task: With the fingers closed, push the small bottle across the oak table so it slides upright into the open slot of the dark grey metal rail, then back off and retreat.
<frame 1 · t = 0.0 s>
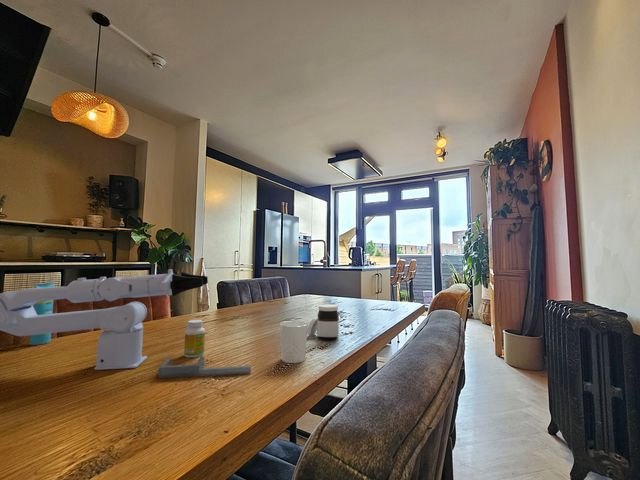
hand: (205, 281, 83), 22 cm above the table, tool horizontal, fingers open, 7 cm apart
supplement bottle: (194, 355, 86), on the table
tube: (40, 343, 95), on the table
white cup: (293, 360, 84), on the table
rail: (183, 370, 74), on the table
spread jar: (322, 338, 107), on the table
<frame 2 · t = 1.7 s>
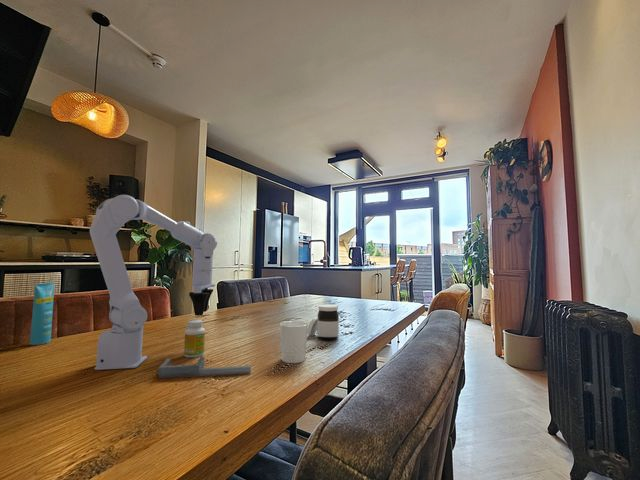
hand: (200, 313, 95), 10 cm above the table, tool pointing down, fingers open, 6 cm apart
nothing on the table moved.
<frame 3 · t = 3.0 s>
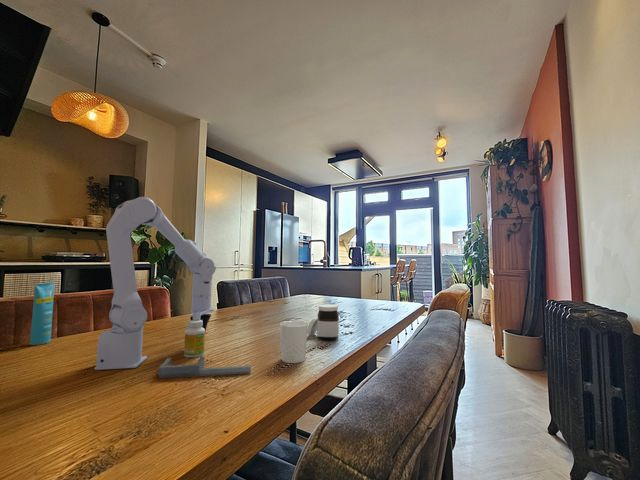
hand: (200, 338, 94), 3 cm above the table, tool pointing down, fingers closed
nothing on the table moved.
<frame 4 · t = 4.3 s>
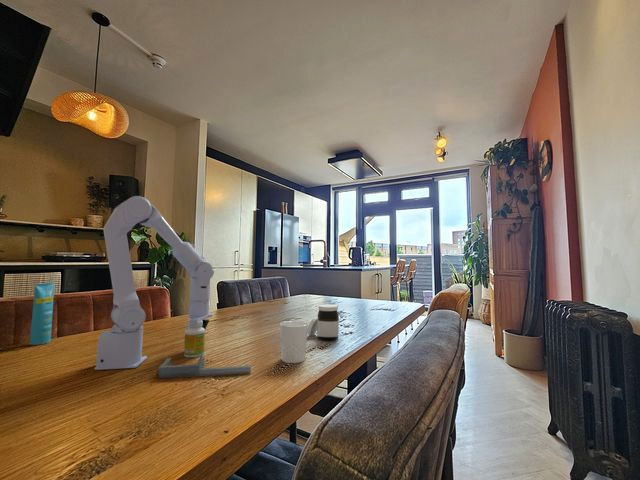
hand: (197, 344, 91), 1 cm above the table, tool pointing down, fingers closed
supplement bottle: (194, 355, 86), on the table, touching gripper
everything else where it was.
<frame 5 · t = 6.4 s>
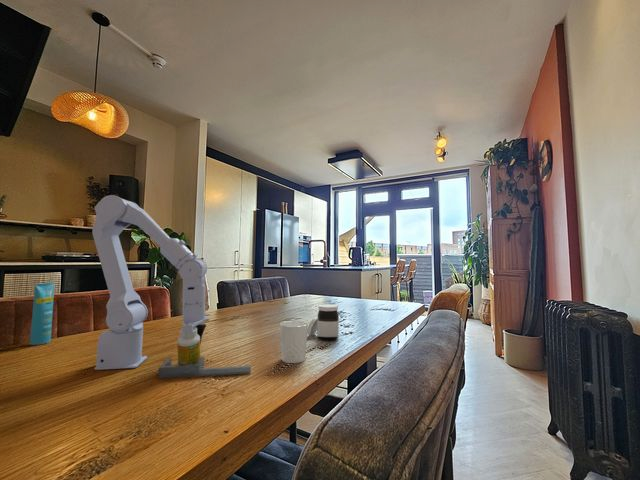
hand: (194, 352, 81), 2 cm above the table, tool pointing down, fingers closed, pressing on supplement bottle
supplement bottle: (189, 363, 78), on the table, touching gripper
everything else where it was.
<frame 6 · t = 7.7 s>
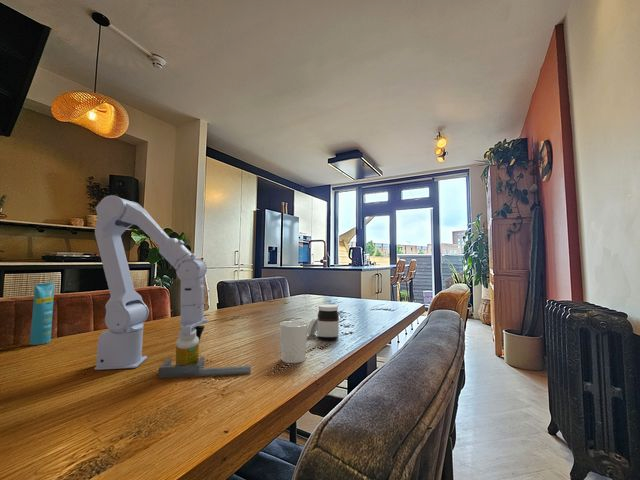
hand: (192, 355, 79), 2 cm above the table, tool pointing down, fingers closed, pressing on supplement bottle
supplement bottle: (187, 365, 77), resting in rail, touching gripper
everything else where it was.
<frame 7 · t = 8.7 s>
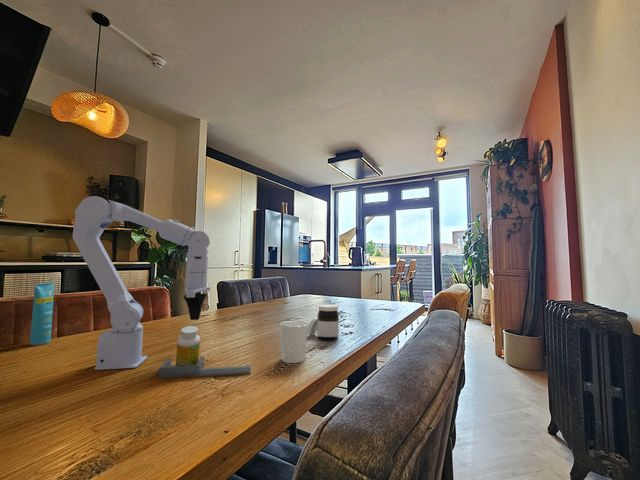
hand: (194, 319, 86), 10 cm above the table, tool pointing down, fingers closed
supplement bottle: (187, 365, 77), resting in rail
everything else where it was.
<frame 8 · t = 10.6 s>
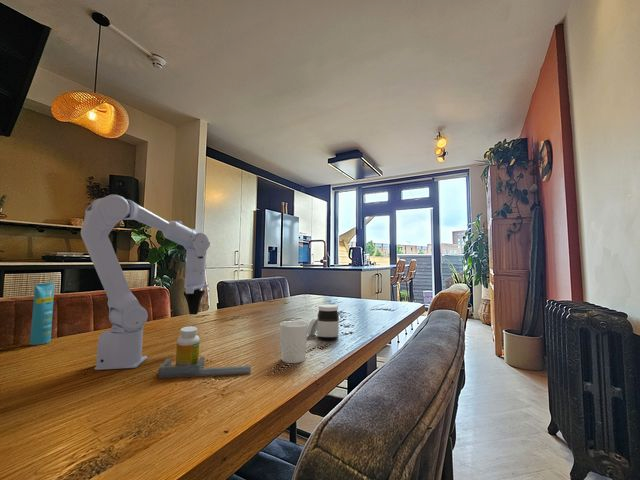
hand: (193, 314, 93), 10 cm above the table, tool pointing down, fingers closed
at the end: supplement bottle 2.4 cm off-centre on the rail, point 0.1 cm above the rail's base; supplement bottle tilted 7°; supplement bottle moved 9.6 cm from its start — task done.
